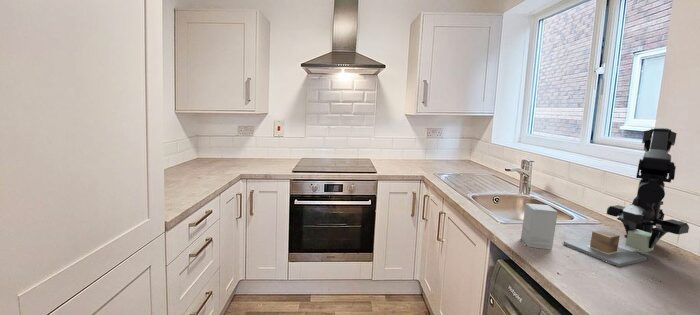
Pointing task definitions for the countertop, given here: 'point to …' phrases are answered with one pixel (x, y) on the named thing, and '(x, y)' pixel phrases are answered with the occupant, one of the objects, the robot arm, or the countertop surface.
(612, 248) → the walnut block
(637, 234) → the sage block
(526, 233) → the supplement box
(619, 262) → the plate
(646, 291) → the countertop surface
